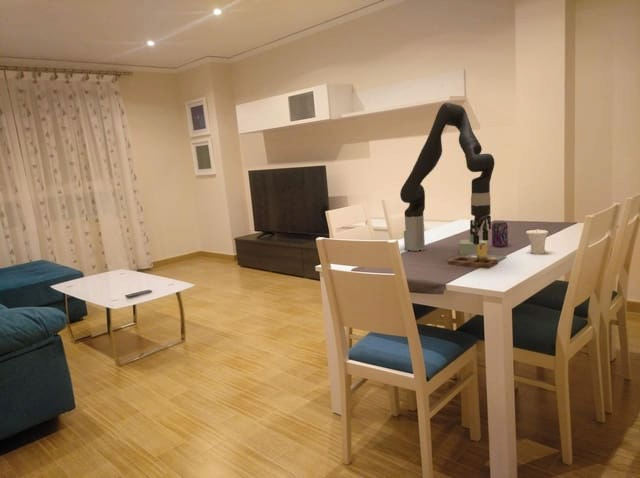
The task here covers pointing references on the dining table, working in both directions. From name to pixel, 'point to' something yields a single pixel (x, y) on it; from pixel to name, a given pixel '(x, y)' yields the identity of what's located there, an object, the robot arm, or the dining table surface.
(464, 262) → the walnut frame
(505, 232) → the beverage can
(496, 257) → the grey mat
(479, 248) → the brass pin
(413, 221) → the robot arm
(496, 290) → the dining table surface
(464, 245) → the green cover
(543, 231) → the cup
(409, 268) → the dining table surface
